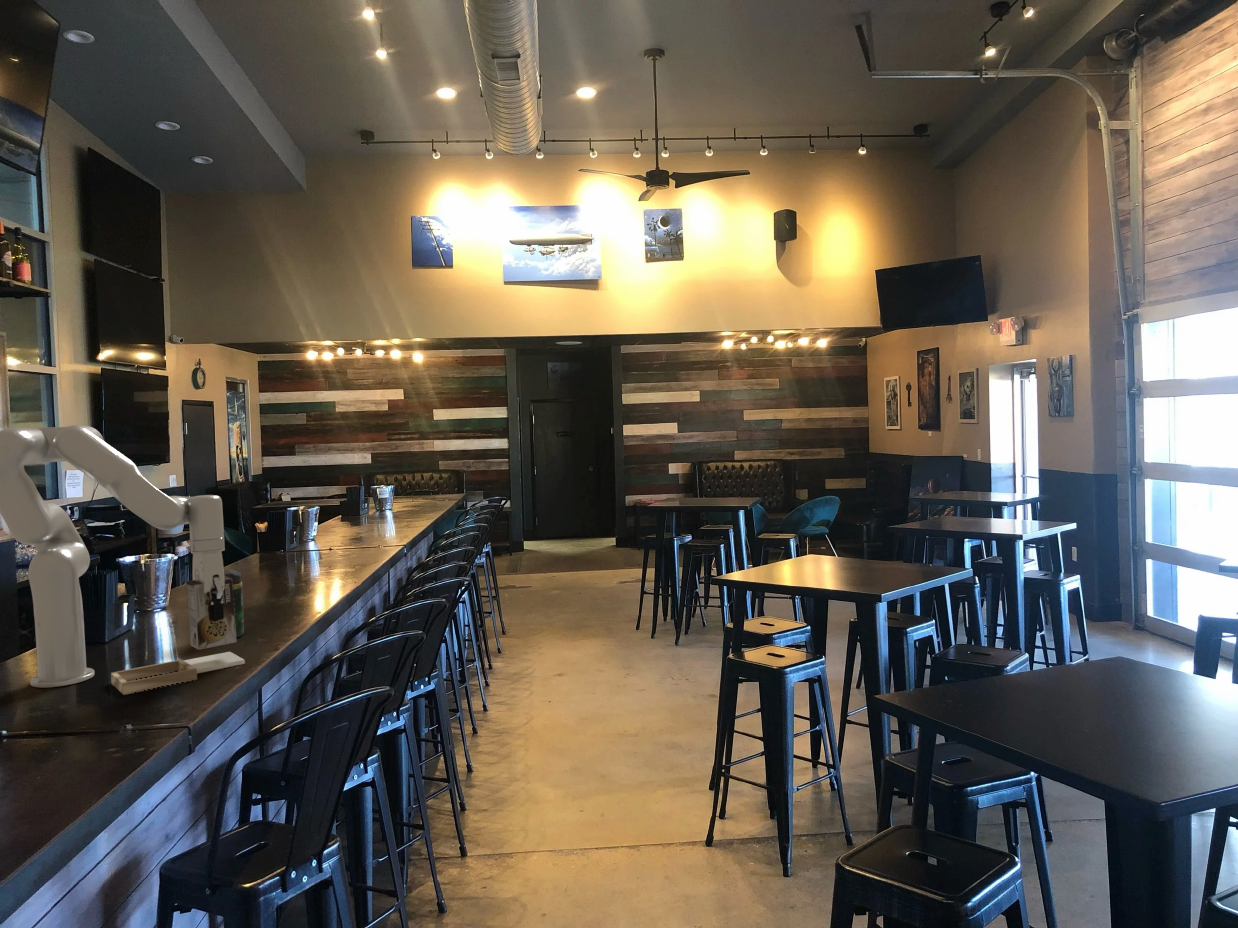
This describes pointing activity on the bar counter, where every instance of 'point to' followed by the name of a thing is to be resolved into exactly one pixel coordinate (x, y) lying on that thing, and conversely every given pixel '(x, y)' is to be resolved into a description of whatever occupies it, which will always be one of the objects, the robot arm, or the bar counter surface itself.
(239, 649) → the bar counter surface
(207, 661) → the tile
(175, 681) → the holder frame
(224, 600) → the coffee box
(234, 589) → the coffee jar
